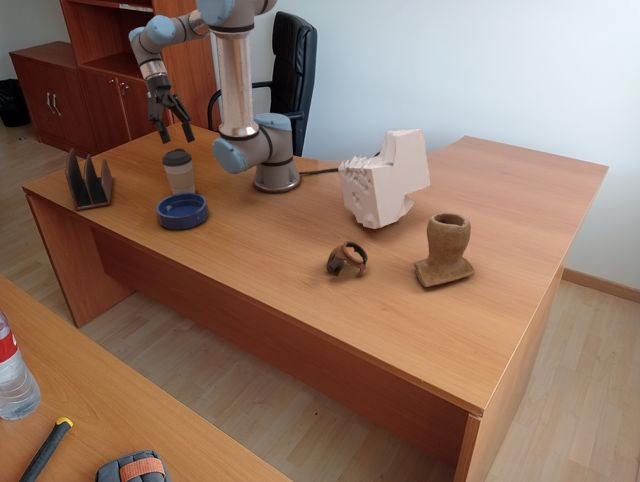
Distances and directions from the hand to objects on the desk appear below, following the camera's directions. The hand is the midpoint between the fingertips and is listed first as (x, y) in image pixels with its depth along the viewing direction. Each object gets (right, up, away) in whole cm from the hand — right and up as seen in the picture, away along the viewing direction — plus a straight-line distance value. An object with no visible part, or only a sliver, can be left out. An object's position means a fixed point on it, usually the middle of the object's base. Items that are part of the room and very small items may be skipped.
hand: (179, 142), depth 159 cm
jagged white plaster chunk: (+64, -25, -15) cm, 70 cm away
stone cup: (+76, -40, -37) cm, 93 cm away
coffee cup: (+2, -18, -1) cm, 18 cm away
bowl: (+5, -25, -12) cm, 28 cm away
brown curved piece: (+52, -40, -36) cm, 75 cm away
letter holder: (-28, -17, +2) cm, 33 cm away
